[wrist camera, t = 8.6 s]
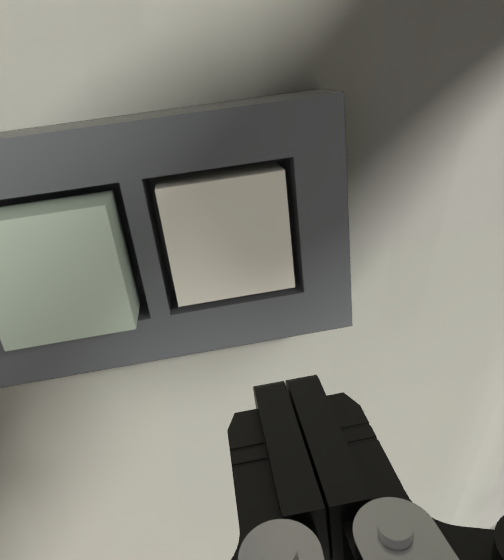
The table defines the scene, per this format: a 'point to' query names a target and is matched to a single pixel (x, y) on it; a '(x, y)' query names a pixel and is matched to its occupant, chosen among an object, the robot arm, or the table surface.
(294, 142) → the panel
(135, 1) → the table surface
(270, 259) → the cream key
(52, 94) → the table surface
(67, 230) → the sage key
